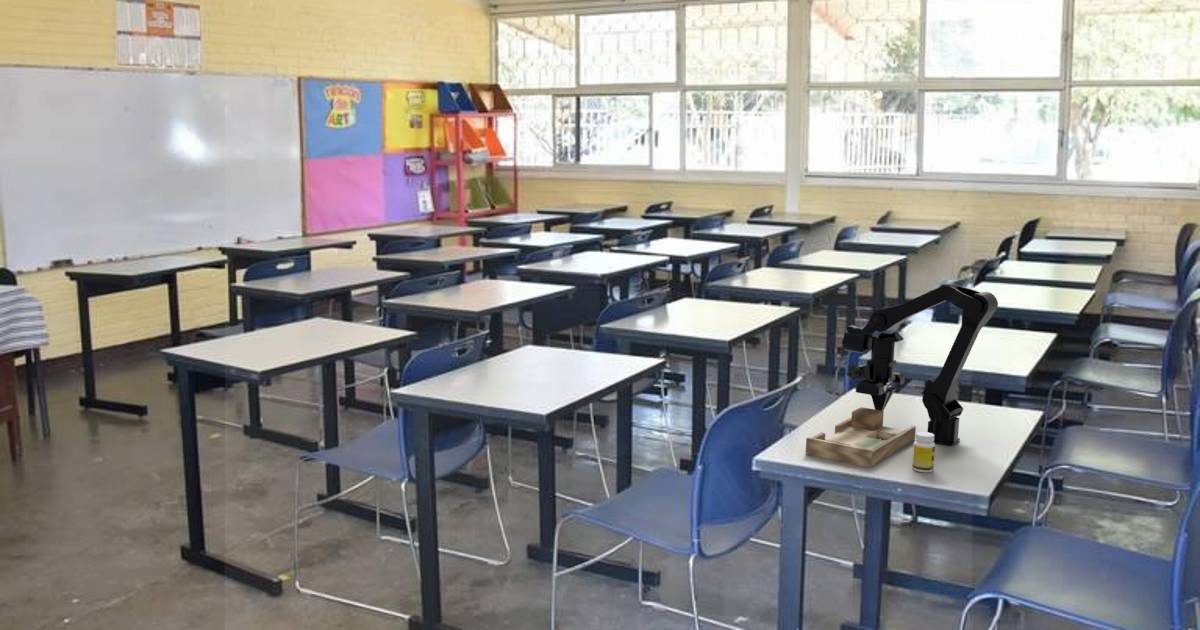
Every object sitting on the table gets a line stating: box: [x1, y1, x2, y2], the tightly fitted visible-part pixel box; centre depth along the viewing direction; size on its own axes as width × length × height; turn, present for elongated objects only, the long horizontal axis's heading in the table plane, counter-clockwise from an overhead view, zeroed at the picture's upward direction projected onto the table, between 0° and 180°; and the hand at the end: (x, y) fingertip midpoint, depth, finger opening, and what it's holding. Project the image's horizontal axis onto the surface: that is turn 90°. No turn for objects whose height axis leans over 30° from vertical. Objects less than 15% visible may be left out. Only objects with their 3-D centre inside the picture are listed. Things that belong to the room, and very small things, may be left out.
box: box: [805, 416, 916, 468], centre depth 253 cm, size 16×29×4 cm, turn 143°
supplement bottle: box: [911, 431, 936, 473], centre depth 236 cm, size 5×5×8 cm
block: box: [851, 407, 885, 431], centre depth 264 cm, size 6×6×4 cm
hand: (878, 414), depth 270 cm, fingers closed
